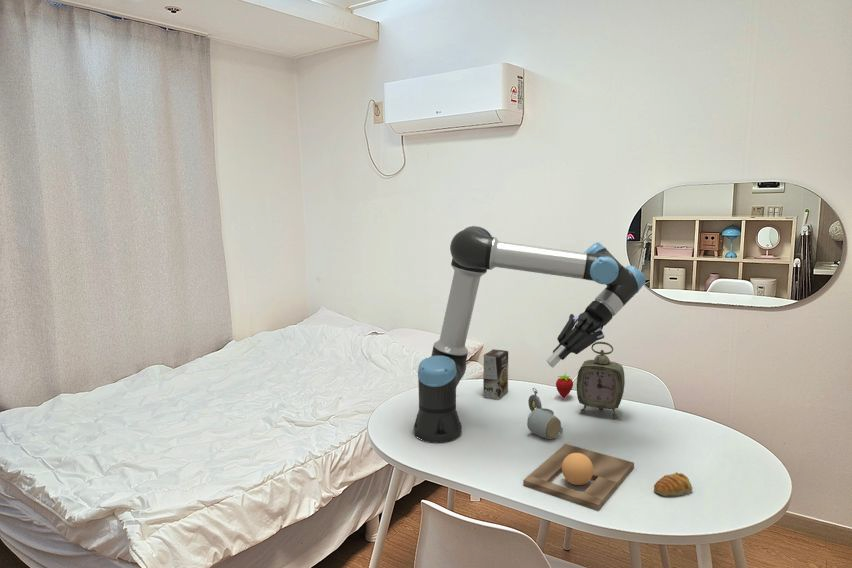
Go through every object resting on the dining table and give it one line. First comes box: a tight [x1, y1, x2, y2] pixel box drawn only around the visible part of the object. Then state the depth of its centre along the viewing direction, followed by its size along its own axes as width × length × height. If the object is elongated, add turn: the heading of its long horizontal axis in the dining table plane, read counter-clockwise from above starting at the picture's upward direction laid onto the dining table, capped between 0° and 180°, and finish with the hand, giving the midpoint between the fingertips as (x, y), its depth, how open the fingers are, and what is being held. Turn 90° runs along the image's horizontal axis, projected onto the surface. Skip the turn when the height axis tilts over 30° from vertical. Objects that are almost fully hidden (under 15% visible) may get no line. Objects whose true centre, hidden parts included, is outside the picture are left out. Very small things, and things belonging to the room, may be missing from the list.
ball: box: [561, 453, 594, 486], centre depth 150 cm, size 8×8×8 cm
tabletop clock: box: [576, 341, 626, 419], centre depth 194 cm, size 14×9×25 cm, turn 65°
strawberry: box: [555, 372, 574, 399], centre depth 209 cm, size 6×8×10 cm
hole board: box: [522, 443, 635, 511], centre depth 154 cm, size 20×26×2 cm
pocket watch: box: [528, 388, 555, 416], centre depth 194 cm, size 8×8×10 cm
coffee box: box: [482, 348, 509, 400], centre depth 213 cm, size 9×6×16 cm
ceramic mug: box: [526, 408, 564, 440], centre depth 180 cm, size 11×8×8 cm
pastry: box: [653, 471, 693, 497], centre depth 147 cm, size 9×7×4 cm
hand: (549, 364), depth 169 cm, fingers closed
